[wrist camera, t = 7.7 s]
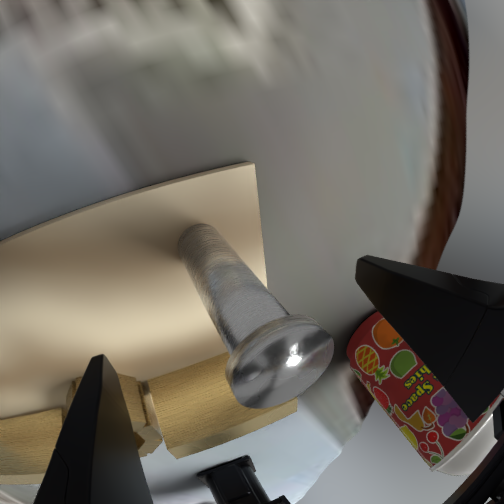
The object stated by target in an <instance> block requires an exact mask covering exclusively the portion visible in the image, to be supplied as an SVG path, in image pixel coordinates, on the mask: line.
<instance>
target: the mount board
mask: <svg viewBox="0 0 504 504" xmlns="http://www.w3.org/2000/svg"><path fill="white" fill-rule="evenodd" d="M196 224H208V225H211V226H213V227H214V228H215V229H216V230H217V231H218V232H219V233H220V234H221V235H222V237H223V238H224V239H225V240H226V241H227V242H228V244H229V245H230V246H231V247H232V248H233V249H234V251H235V252H236V253H237V254H238V255H239V256H240V258H241V259H242V260H243V261H244V262H245V263H246V265H247V266H248V267H249V268H250V269H251V270H252V272H253V273H254V274H255V275H256V276H257V277H258V279H259V280H260V281H261V282H262V283H263V284H264V285H265V287H266V288H267V280H266V270H265V260H264V250H263V240H262V230H261V220H260V211H259V201H258V192H257V182H256V173H255V164H254V163H251V162H244V163H239V164H235V165H230V166H226V167H222V168H217V169H213V170H209V171H205V172H201V173H197V174H193V175H189V176H185V177H181V178H177V179H174V180H170V181H166V182H163V183H159V184H156V185H152V186H149V187H145V188H142V189H139V190H135V191H132V192H129V193H126V194H122V195H119V196H116V197H113V198H110V199H107V200H104V201H101V202H98V203H95V204H92V205H89V206H87V207H84V208H81V209H78V210H75V211H73V212H70V213H67V214H65V215H62V216H59V217H57V218H54V219H51V220H49V221H46V222H44V223H41V224H39V225H36V226H34V227H32V228H29V229H27V230H24V231H22V232H20V233H17V234H15V235H13V236H11V237H8V238H6V239H4V240H2V241H0V420H5V419H11V418H16V417H21V416H26V415H31V414H36V413H41V412H45V411H49V410H54V409H58V408H62V409H63V410H65V411H66V396H67V393H68V390H69V387H70V385H71V382H72V381H75V382H76V377H80V376H83V375H84V372H85V370H86V368H87V366H88V364H89V361H90V359H91V358H92V357H93V356H96V355H99V354H104V355H105V356H106V357H107V358H108V360H109V361H110V363H111V364H112V366H113V367H114V369H115V370H116V372H117V373H119V374H123V375H127V376H131V377H135V378H136V381H141V382H142V384H143V385H144V387H145V388H146V390H147V391H148V393H149V394H150V395H151V393H150V389H149V385H148V381H147V380H148V379H151V378H154V377H157V376H160V375H163V374H166V373H169V372H172V371H175V370H178V369H181V368H184V367H187V366H189V365H192V364H195V363H198V362H201V361H203V360H206V359H209V358H212V357H214V356H217V355H219V354H222V353H225V352H227V351H228V350H227V348H226V347H225V345H224V343H223V341H222V339H221V337H220V335H219V334H218V332H217V330H216V328H215V326H214V324H213V322H212V320H211V318H210V316H209V314H208V312H207V310H206V308H205V307H204V305H203V303H202V301H201V299H200V297H199V295H198V293H197V291H196V288H195V286H194V284H193V282H192V280H191V278H190V276H189V274H188V272H187V270H186V268H185V266H184V264H183V262H182V259H181V257H180V255H179V253H178V241H179V238H180V236H181V235H182V233H183V232H184V231H185V230H186V229H188V228H189V227H191V226H193V225H196ZM151 399H152V397H151ZM152 402H153V400H152ZM153 406H154V404H153ZM154 410H155V408H154ZM66 412H67V411H66ZM155 413H156V411H155ZM156 417H157V415H156ZM157 420H158V418H157ZM158 424H159V422H158ZM159 427H160V425H159Z"/></svg>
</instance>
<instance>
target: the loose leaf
mask: <svg viewBox="0 0 504 504" xmlns="http://www.w3.org/2000/svg"><path fill="white" fill-rule="evenodd" d="M66 415H67V412H66V411H65V410H63V409H62V408H58V409H54V410H49V411H45V412H41V413H36V414H31V415H26V416H21V417H16V418H11V419H5V420H0V484H41V483H42V480H43V478H44V475H45V473H46V470H47V467H48V464H49V462H50V459H51V456H52V453H53V450H54V448H55V445H56V442H57V439H58V436H59V433H60V431H61V428H62V425H63V423H64V420H65V418H66Z"/></svg>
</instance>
